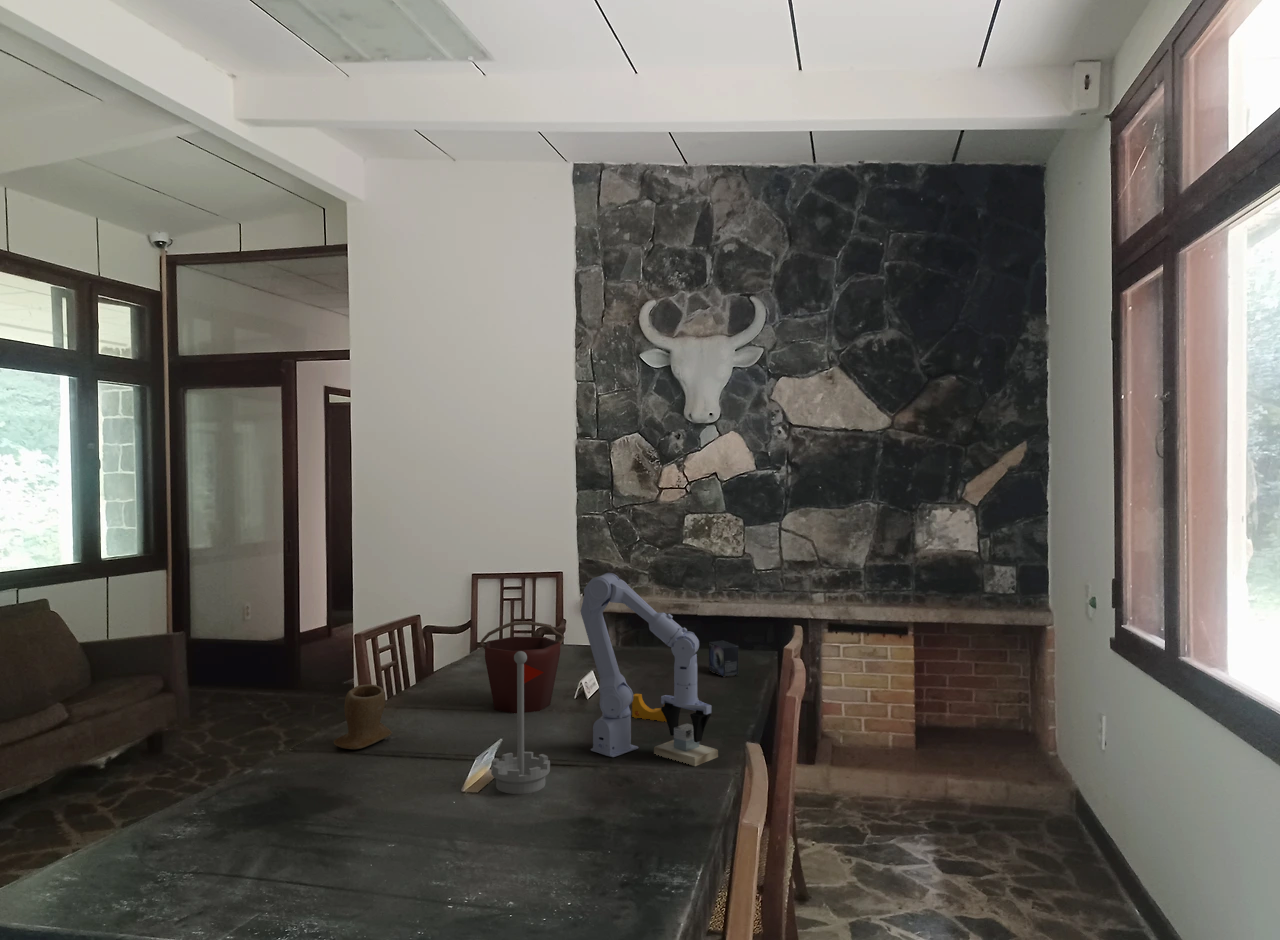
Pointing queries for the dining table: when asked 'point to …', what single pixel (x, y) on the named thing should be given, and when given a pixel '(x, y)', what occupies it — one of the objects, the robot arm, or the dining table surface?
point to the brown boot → (363, 717)
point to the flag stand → (521, 747)
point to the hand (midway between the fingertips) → (685, 737)
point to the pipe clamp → (645, 710)
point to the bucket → (539, 656)
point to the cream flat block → (686, 753)
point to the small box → (723, 658)
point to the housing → (684, 738)
